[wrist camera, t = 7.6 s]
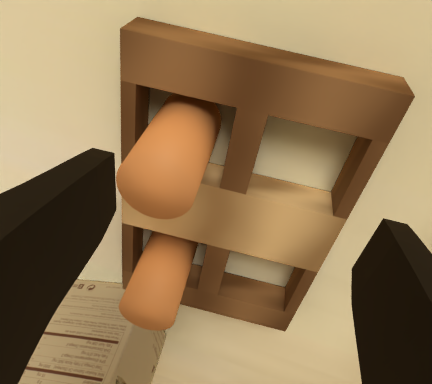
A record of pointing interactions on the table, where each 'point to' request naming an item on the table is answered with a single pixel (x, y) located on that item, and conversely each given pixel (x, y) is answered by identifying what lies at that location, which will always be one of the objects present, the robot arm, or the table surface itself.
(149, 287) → the pin
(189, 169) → the loose pin
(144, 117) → the wooden grid frame
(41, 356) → the supplement box
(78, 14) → the table surface
